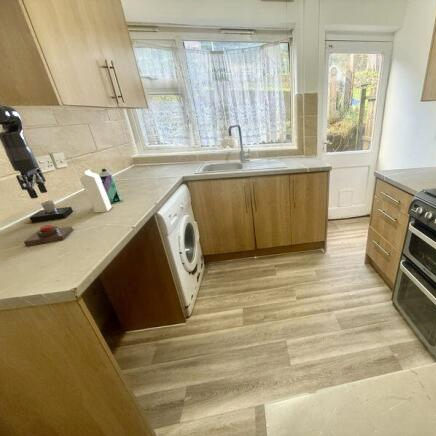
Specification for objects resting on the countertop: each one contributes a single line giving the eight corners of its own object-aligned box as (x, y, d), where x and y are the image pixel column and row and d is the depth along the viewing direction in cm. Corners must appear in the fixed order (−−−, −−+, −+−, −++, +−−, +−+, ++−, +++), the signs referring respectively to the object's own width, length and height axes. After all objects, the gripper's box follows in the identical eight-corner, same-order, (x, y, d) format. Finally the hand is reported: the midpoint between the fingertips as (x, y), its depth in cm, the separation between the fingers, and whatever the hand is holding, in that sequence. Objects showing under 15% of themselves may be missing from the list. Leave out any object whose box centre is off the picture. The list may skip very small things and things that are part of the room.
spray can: (111, 202, 144) (98, 168, 135) (122, 200, 146) (109, 167, 137) (110, 205, 139) (96, 170, 131) (121, 202, 141) (108, 169, 133)
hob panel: (32, 223, 118) (29, 217, 116) (42, 215, 126) (39, 210, 125) (65, 218, 122) (62, 212, 121) (73, 211, 131) (70, 206, 129)
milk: (112, 208, 134) (96, 168, 125) (108, 212, 129) (91, 170, 119) (99, 209, 132) (82, 169, 123) (94, 213, 127) (77, 172, 118)
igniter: (26, 246, 96) (21, 237, 95) (39, 235, 105) (35, 227, 103) (63, 240, 100) (59, 232, 99) (73, 230, 109) (69, 222, 107)
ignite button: (39, 233, 99) (37, 229, 98) (44, 229, 102) (42, 225, 101) (50, 231, 100) (49, 227, 100) (54, 228, 103) (53, 224, 103)
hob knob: (54, 212, 122) (50, 202, 120) (43, 213, 120) (38, 203, 118) (58, 209, 126) (54, 199, 123) (47, 210, 124) (43, 201, 122)
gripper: (19, 156, 105) (36, 192, 112) (-2, 161, 93) (19, 201, 99) (41, 154, 108) (57, 189, 114) (24, 159, 96) (42, 198, 102)
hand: (39, 195), depth 107 cm, fingers open, 8 cm apart
